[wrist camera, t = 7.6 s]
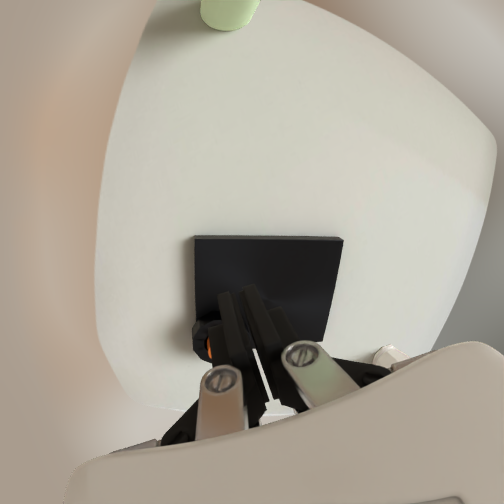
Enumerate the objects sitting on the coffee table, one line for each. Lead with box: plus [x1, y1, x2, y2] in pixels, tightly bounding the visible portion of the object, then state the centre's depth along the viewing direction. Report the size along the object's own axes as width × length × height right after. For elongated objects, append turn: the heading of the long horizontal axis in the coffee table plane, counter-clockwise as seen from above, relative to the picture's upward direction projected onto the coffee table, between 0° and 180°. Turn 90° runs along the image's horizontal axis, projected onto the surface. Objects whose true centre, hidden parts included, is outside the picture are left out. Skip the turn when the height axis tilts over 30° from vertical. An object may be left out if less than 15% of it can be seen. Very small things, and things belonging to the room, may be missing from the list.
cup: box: [372, 344, 410, 368], centre depth 35 cm, size 7×10×8 cm
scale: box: [192, 235, 344, 363], centre depth 28 cm, size 16×13×3 cm
